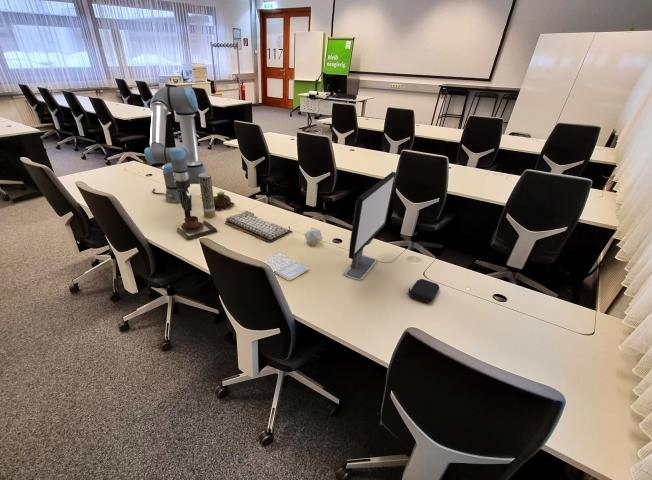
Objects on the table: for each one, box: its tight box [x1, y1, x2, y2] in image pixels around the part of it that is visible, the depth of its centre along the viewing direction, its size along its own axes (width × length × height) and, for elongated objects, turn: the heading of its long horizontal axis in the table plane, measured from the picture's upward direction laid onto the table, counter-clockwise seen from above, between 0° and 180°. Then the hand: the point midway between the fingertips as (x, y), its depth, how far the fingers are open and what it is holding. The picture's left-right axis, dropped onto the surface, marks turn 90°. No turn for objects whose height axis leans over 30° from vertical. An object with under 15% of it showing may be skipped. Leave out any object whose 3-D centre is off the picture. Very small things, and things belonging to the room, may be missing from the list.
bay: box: [176, 220, 218, 241], centre depth 183 cm, size 14×17×2 cm
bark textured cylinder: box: [199, 172, 216, 219], centre depth 194 cm, size 7×7×25 cm
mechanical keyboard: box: [224, 210, 293, 243], centre depth 189 cm, size 38×19×3 cm, turn 50°
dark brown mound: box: [213, 190, 235, 211], centre depth 212 cm, size 17×16×10 cm
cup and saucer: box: [181, 215, 204, 233], centre depth 185 cm, size 12×12×6 cm
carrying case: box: [407, 278, 441, 304], centre depth 141 cm, size 11×3×15 cm
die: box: [304, 226, 323, 247], centre depth 174 cm, size 8×9×10 cm
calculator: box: [262, 252, 309, 281], centre depth 155 cm, size 13×20×2 cm, turn 47°
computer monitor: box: [344, 171, 397, 281], centre depth 146 cm, size 41×8×40 cm, turn 148°
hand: (188, 221), depth 188 cm, fingers closed
